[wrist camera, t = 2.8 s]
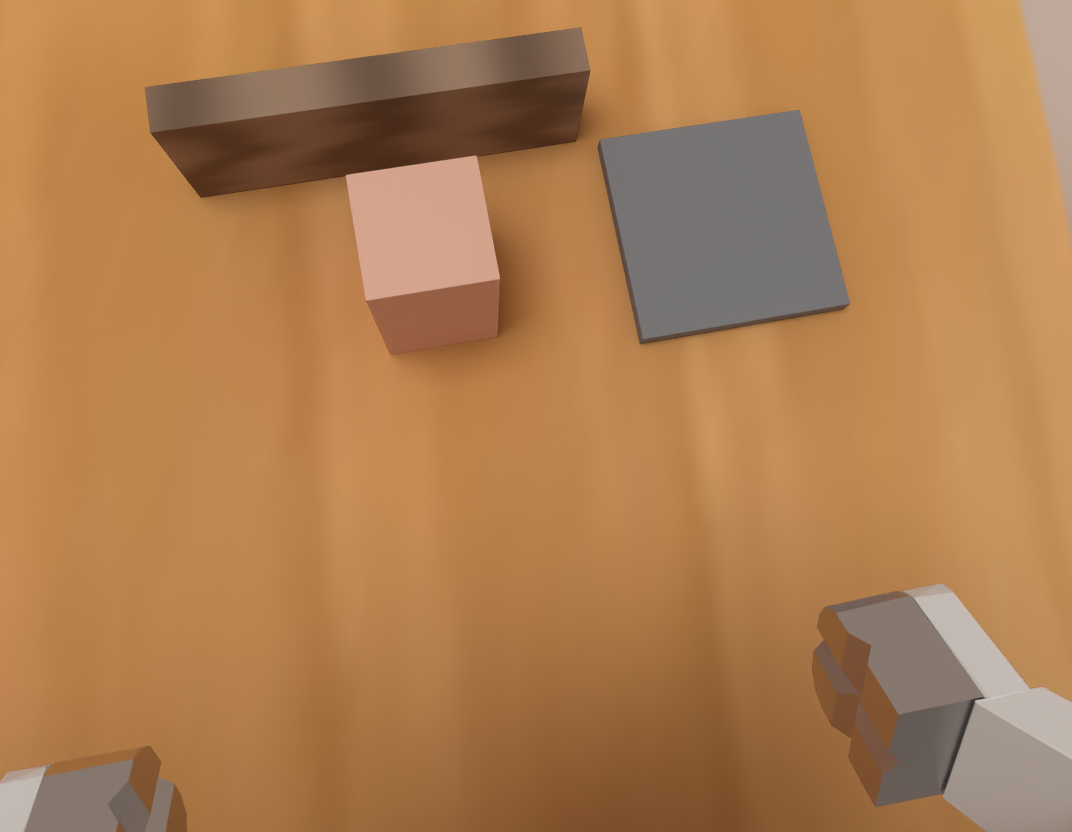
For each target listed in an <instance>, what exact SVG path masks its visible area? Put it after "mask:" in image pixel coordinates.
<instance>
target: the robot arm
mask: <svg viewBox="0 0 1072 832" xmlns="http://www.w3.org/2000/svg"><path fill="white" fill-rule="evenodd" d="M817 628H818V630H819V632H820V633H821V635H822V637H823V639H824V641H823V642H822V643H821V644H820V645H819V646H818V647H817V648H816V649H815V650H814V653H813V663H812V673H813V678H814V684H815V690H816V693H817V695H818V698H819V701H820V703H821V706H822V708H823V710H824V712H825V714H826V716H827V718H828V720H829V722H830V724H831V725H832V726H833V727H835V728H836V729H838V730H839V731H841V732H842V733H844V734H845V735H847V736H848V737H850V738H852V740H851V745H850V750H849V756H848V758H849V760H850V762H851V764H852V765H853V767H854V769H855V771H856V773H857V775H858V776H859V778H860V780H861V782H862V784H863V786H864V788H865V789H866V791H867V793H868V795H869V797H870V799H871V801H872V802H873V804H874V806H875V807H878V806H883V805H888V804H893V803H898V802H903V801H908V800H914V799H919V798H924V797H929V796H934V795H939V794H944V795H943V798H944V799H945V800H946V801H948V802H949V803H950V804H951V805H953V806H954V807H955V808H957V809H958V810H959V811H960V812H962V813H963V814H964V815H966V816H967V817H968V818H969V819H971V820H972V821H973V822H975V823H976V824H977V825H978V826H980V827H981V828H982V829H983V830H985V831H986V832H1072V702H1070V701H1068V700H1066V699H1065V698H1063V697H1061V696H1059V695H1057V694H1055V693H1053V692H1051V691H1050V690H1048V689H1046V688H1044V687H1036V688H1029V686H1028V685H1027V684H1026V683H1025V681H1024V680H1023V679H1022V678H1021V676H1020V675H1019V674H1018V673H1017V671H1016V670H1015V669H1014V668H1013V666H1012V665H1011V664H1010V663H1009V661H1008V660H1007V659H1006V658H1005V656H1004V655H1003V654H1002V653H1001V651H1000V650H999V649H998V648H997V646H996V645H995V644H994V643H993V641H992V640H991V639H990V638H989V636H988V635H987V634H986V633H985V631H984V630H983V629H982V628H981V626H980V625H979V624H978V623H977V621H976V620H975V619H974V618H973V616H972V615H971V614H970V613H969V611H968V610H967V609H966V608H965V606H964V605H963V604H962V603H961V601H960V600H959V599H958V598H957V596H956V595H955V594H954V593H953V591H952V590H951V589H950V588H948V587H946V586H945V585H943V584H934V585H929V586H924V587H920V588H915V589H910V590H906V591H902V592H898V591H895V592H891V593H886V594H882V595H877V596H873V597H868V598H864V599H859V600H854V601H850V602H845V603H841V604H836V605H832V606H827V607H825V608H824V609H823V610H822V611H821V612H820V614H819V620H818V626H817ZM160 765H161V761H160V759H159V758H158V757H157V755H156V754H155V752H154V751H153V749H152V748H151V746H146V747H140V748H134V749H129V750H123V751H118V752H112V753H107V754H101V755H95V756H90V757H84V758H79V759H73V760H68V761H62V762H56V763H50V764H45V765H40V766H35V767H30V768H25V769H20V770H15V771H10V772H7V774H6V775H5V776H4V777H3V779H2V780H1V781H0V832H187V821H186V811H185V807H184V804H183V800H182V796H181V794H180V793H179V791H178V789H177V787H176V786H175V784H174V783H171V782H169V781H167V780H164V779H162V778H159V777H158V775H159V770H160Z"/></svg>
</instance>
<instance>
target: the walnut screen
mask: <svg viewBox="0 0 1072 832" xmlns="http://www.w3.org/2000/svg"><path fill="white" fill-rule="evenodd" d="M589 75H590V66H589V62H588V57H587V52H586V48H585V43H584V39H583V34H582V30H581V28H573V29H566V30H559V31H551V32H544V33H537V34H529V35H522V36H515V37H508V38H500V39H493V40H486V41H478V42H471V43H464V44H457V45H449V46H442V47H435V48H427V49H420V50H413V51H406V52H398V53H391V54H384V55H376V56H369V57H362V58H354V59H347V60H340V61H333V62H325V63H318V64H311V65H303V66H296V67H289V68H282V69H274V70H267V71H260V72H252V73H245V74H238V75H231V76H223V77H216V78H209V79H201V80H194V81H187V82H180V83H172V84H165V85H158V86H150V87H145V93H146V101H147V109H148V117H149V125H150V133H151V134H152V135H153V137H154V138H155V139H156V141H157V142H158V143H159V144H160V146H161V147H162V148H163V150H164V151H165V152H166V153H167V155H168V156H169V157H170V159H171V160H172V161H173V162H174V164H175V165H176V166H177V168H178V169H179V170H180V172H181V173H182V174H183V175H184V177H185V178H186V179H187V181H188V182H189V183H190V184H191V186H192V187H193V188H194V190H195V191H196V192H197V193H198V195H199V196H200V197H206V196H213V195H219V194H226V193H233V192H240V191H246V190H253V189H260V188H266V187H273V186H280V185H286V184H293V183H300V182H307V181H313V180H320V179H327V178H333V177H340V176H346V175H349V174H356V173H362V172H369V171H376V170H382V169H389V168H396V167H403V166H409V165H416V164H423V163H429V162H436V161H443V160H449V159H456V158H463V157H470V156H476V155H477V156H481V155H488V154H494V153H501V152H508V151H515V150H521V149H528V148H535V147H541V146H548V145H555V144H561V143H568V142H575V141H576V137H577V133H578V128H579V123H580V118H581V113H582V108H583V104H584V99H585V94H586V89H587V84H588V79H589Z"/></svg>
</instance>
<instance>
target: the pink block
mask: <svg viewBox="0 0 1072 832" xmlns="http://www.w3.org/2000/svg"><path fill="white" fill-rule="evenodd" d="M346 181H347V187H348V193H349V199H350V205H351V212H352V218H353V224H354V230H355V236H356V242H357V248H358V255H359V261H360V267H361V273H362V279H363V285H364V291H365V298H366V302H367V304H368V306H369V308H370V311H371V313H372V315H373V317H374V319H375V322H376V324H377V326H378V328H379V330H380V333H381V335H382V337H383V339H384V342H385V344H386V346H387V348H388V350H389V353H390V355H391V354H397V353H403V352H409V351H415V350H420V349H426V348H432V347H438V346H444V345H450V344H456V343H462V342H468V341H474V340H480V339H486V338H492V337H498V316H499V294H500V275H499V270H498V265H497V260H496V254H495V249H494V244H493V239H492V233H491V228H490V223H489V218H488V212H487V207H486V202H485V197H484V191H483V186H482V181H481V176H480V170H479V165H478V160H477V155H476V156H470V157H463V158H456V159H449V160H443V161H436V162H429V163H423V164H416V165H409V166H403V167H396V168H389V169H382V170H376V171H369V172H362V173H356V174H349V175H346Z"/></svg>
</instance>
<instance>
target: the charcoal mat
mask: <svg viewBox="0 0 1072 832" xmlns="http://www.w3.org/2000/svg"><path fill="white" fill-rule="evenodd" d="M598 151H599V156H600V161H601V165H602V170H603V174H604V179H605V184H606V188H607V193H608V198H609V202H610V207H611V211H612V216H613V221H614V225H615V230H616V235H617V239H618V244H619V248H620V253H621V258H622V262H623V267H624V272H625V276H626V281H627V285H628V290H629V295H630V299H631V304H632V309H633V313H634V318H635V322H636V327H637V332H638V336H639V341H640V344H642V343H647V342H653V341H659V340H665V339H671V338H677V337H682V336H688V335H694V334H700V333H706V332H712V331H717V330H723V329H729V328H735V327H741V326H747V325H752V324H758V323H764V322H770V321H776V320H781V319H787V318H793V317H799V316H805V315H811V314H816V313H822V312H828V311H834V310H840V309H844V308H845V307H846V306H848V305H849V304H850V302H849V298H848V294H847V290H846V287H845V283H844V279H843V275H842V271H841V267H840V264H839V260H838V256H837V252H836V248H835V244H834V241H833V237H832V233H831V229H830V225H829V221H828V218H827V214H826V210H825V206H824V202H823V198H822V195H821V191H820V187H819V183H818V179H817V175H816V172H815V168H814V164H813V160H812V156H811V152H810V149H809V145H808V141H807V137H806V133H805V129H804V126H803V122H802V118H801V114H800V110H795V111H788V112H782V113H775V114H768V115H761V116H755V117H748V118H741V119H735V120H728V121H721V122H715V123H708V124H701V125H694V126H688V127H681V128H674V129H668V130H661V131H654V132H648V133H641V134H634V135H627V136H621V137H614V138H607V139H601V140H600V141H599V145H598Z"/></svg>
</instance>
